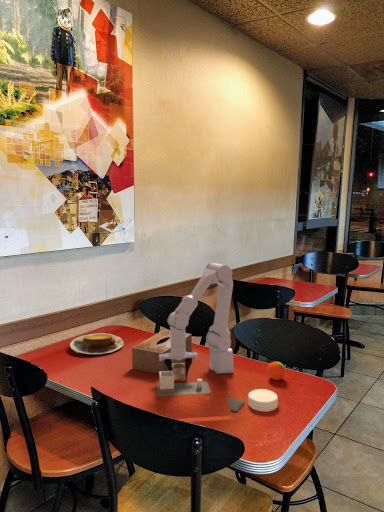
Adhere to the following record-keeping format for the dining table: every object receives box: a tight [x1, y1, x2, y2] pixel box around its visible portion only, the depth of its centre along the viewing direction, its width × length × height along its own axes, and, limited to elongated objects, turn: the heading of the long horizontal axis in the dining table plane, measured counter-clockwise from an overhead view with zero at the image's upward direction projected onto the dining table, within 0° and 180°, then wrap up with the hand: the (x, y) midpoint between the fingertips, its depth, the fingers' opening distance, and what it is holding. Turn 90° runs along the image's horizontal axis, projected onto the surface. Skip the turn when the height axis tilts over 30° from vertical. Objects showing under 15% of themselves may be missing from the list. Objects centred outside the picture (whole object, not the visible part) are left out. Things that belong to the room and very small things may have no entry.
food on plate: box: [69, 332, 125, 355], centre depth 193 cm, size 25×25×7 cm
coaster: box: [247, 388, 279, 413], centre depth 137 cm, size 10×10×4 cm
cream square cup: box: [159, 370, 175, 393], centre depth 146 cm, size 5×5×6 cm
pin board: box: [156, 378, 212, 397], centre depth 147 cm, size 19×9×4 cm, turn 96°
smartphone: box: [225, 396, 245, 413], centre depth 139 cm, size 8×1×15 cm
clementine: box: [266, 360, 287, 381], centre depth 156 cm, size 8×7×7 cm
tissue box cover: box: [131, 329, 193, 374], centre depth 174 cm, size 26×14×10 cm, turn 154°
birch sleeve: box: [172, 362, 187, 382], centre depth 156 cm, size 5×5×6 cm
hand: (178, 377), depth 156 cm, fingers closed on birch sleeve, 5 cm apart
